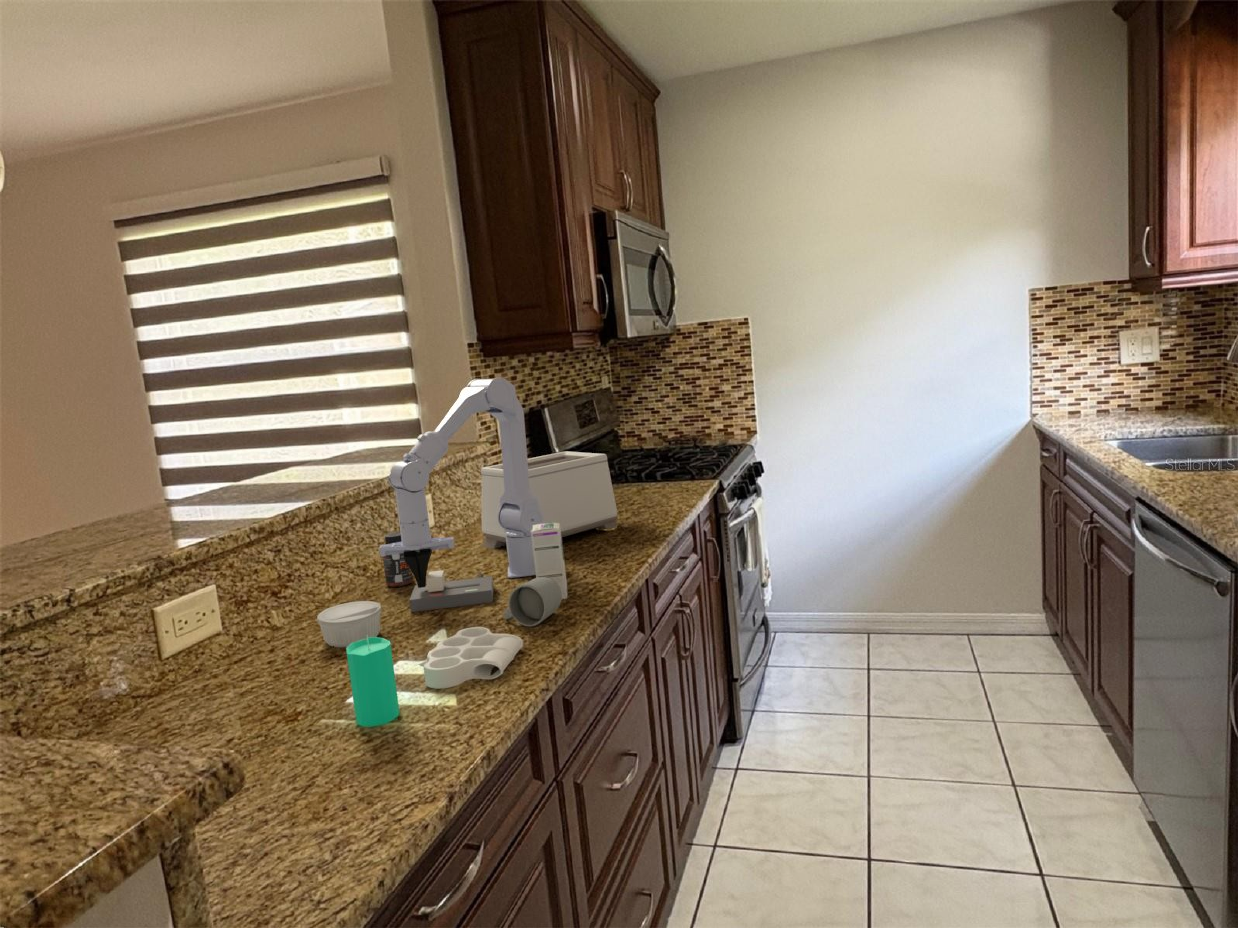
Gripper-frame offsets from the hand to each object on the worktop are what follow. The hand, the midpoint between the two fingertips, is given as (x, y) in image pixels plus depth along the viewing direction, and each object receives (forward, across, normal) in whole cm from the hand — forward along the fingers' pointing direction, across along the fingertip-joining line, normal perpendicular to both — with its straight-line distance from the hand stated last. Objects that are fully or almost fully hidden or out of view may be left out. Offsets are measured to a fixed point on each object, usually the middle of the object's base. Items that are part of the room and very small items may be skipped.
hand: (422, 586), depth 161 cm
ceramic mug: (+4, +21, -18) cm, 28 cm away
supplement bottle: (+4, -7, +17) cm, 19 cm away
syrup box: (+4, +26, -6) cm, 27 cm away
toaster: (+4, +30, +46) cm, 55 cm away
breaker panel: (+4, +6, +4) cm, 8 cm away
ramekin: (+4, -11, -16) cm, 20 cm away
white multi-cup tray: (+4, +11, -36) cm, 38 cm away
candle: (+4, -1, -51) cm, 51 cm away
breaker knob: (+1, +3, 0) cm, 3 cm away
